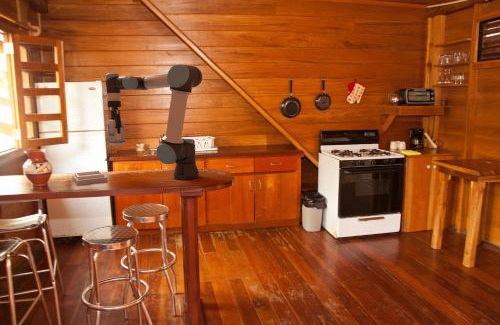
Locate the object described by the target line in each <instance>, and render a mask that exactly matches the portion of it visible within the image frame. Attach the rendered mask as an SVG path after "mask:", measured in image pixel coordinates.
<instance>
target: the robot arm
mask: <svg viewBox="0 0 500 325" xmlns="http://www.w3.org/2000/svg"><path fill="white" fill-rule="evenodd" d="M202 81H203V73H202V71H201V69H200V68H199V67H196V66H194V65H187V64H182V63H181V64H174V65H172V66H171V67H169V69H168V70H167V73H164V74H154V75H148V76H133V75H126V76H120V74H119V73H114V72H113V73H106V74H105V87H106V95H105V97H106V99H107V100H106V101H107V107H108V108H111V109H110V120H115V124H116V127H115V128H116V139H121V127H122V126H121V120H122V118H121V111H120V110H119V108H121V107H122V101H121V100H122V98H121V91H126V90H127V91H149V90H153V89H162V88H163V89H164V88H169V91H170V92H171V96H170V102H169V110H168V119H167V123H166V124H167V125H166V132H165V135H164V136H163V137H162V139H161V143H160V144H159V145H158V146H157V147H156V156H157V158H158V160H159V161H160V162H161V163H163V164H164V165H173V164H175V167H174V171H173V173H172V174H173V176H172V178H173V179H175V180H186V181H187V180H194V179H198V178H200V172H199V169H198V165H197V161H196V160H197V158H196V141H195V140H194V139H193V138H182V135H183V130H184V129H183V128H184V123H185V118H186V110H187V104H188V98H189V95H190V94H191V93H192V90H193V89H194V88H196V87H199V86H200V85H201V83H202Z"/></svg>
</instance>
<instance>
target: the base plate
mask: <svg viewBox="0 0 500 325" xmlns="http://www.w3.org/2000/svg"><path fill="white" fill-rule="evenodd" d="M71 178H72V180H73V182H74V183H75V184H76V186H81V185H89V184H90V183H92V184H99V183H98V182H100V183H107V182H108V176H106V175H105V173H103V172H102V171H101V170H93V171H92V170H91V171H82V172H74V174H72V175H71ZM90 185H91V184H90Z"/></svg>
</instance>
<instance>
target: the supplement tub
mask: <svg viewBox="0 0 500 325" xmlns="http://www.w3.org/2000/svg"><path fill="white" fill-rule="evenodd" d="M121 126H122V127H121V139H116V128H115V127H116V124H115V120H111V119H108V120H107V136H108V138H107V139H108V145H109V146H124V145H126V129H125V128H126V126H125V119H121Z"/></svg>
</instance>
